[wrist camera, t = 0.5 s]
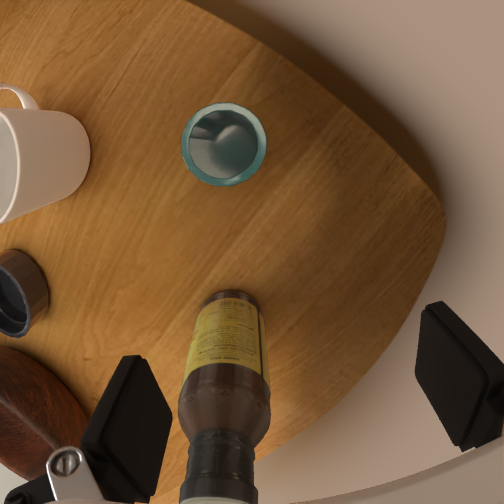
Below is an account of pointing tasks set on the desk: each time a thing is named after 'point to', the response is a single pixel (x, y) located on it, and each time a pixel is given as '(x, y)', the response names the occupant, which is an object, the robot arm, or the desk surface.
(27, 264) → the bowl
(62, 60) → the desk surface
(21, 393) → the wooden bowl
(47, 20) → the desk surface
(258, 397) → the sauce bottle
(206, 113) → the cup
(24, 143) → the mug
